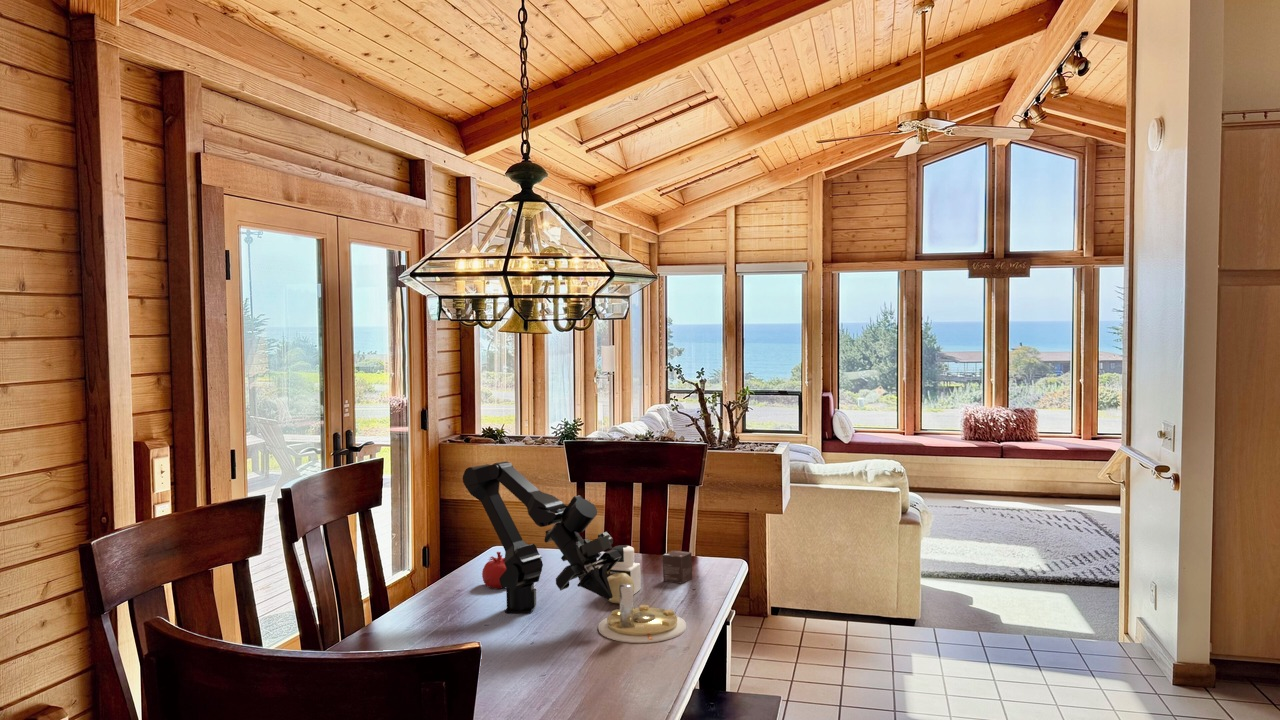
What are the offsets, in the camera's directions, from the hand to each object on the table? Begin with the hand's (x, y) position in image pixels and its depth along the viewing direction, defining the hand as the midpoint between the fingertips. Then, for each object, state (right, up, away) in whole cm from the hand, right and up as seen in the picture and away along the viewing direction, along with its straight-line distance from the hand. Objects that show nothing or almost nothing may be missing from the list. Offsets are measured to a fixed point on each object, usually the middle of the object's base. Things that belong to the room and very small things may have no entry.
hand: (610, 598), depth 192 cm
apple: (+1, -7, +22) cm, 23 cm away
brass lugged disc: (+7, -7, +2) cm, 10 cm away
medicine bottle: (+2, -7, +29) cm, 30 cm away
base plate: (+7, -7, +2) cm, 10 cm away
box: (+17, -6, +40) cm, 44 cm away
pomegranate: (-31, -8, +39) cm, 50 cm away
